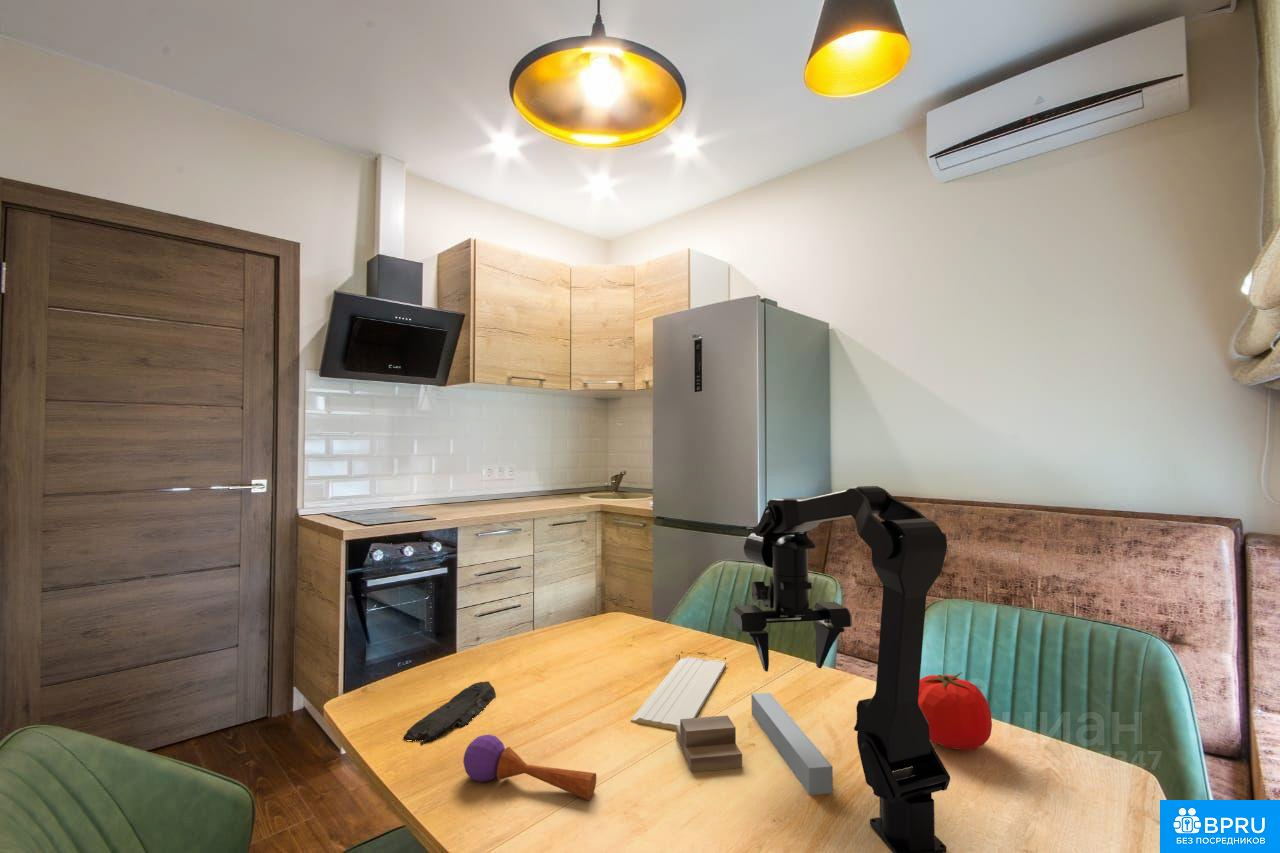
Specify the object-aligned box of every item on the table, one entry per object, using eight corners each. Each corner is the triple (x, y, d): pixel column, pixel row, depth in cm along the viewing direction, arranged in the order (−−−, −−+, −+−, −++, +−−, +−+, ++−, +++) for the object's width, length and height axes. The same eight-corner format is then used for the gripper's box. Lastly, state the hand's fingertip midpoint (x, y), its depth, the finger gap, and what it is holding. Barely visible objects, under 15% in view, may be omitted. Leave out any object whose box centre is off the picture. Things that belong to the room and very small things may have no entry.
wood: (436, 751, 90) (436, 732, 90) (399, 743, 92) (399, 724, 92) (511, 694, 111) (511, 679, 111) (479, 689, 113) (480, 674, 113)
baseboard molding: (623, 723, 99) (687, 736, 95) (623, 707, 100) (687, 719, 95) (674, 661, 128) (726, 668, 124) (674, 648, 128) (726, 655, 124)
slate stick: (832, 795, 78) (832, 766, 79) (809, 797, 78) (809, 768, 78) (769, 714, 102) (769, 692, 102) (751, 716, 102) (751, 693, 102)
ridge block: (742, 767, 85) (742, 737, 85) (691, 772, 83) (691, 741, 84) (722, 734, 95) (722, 707, 95) (676, 737, 93) (676, 710, 93)
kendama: (584, 784, 74) (454, 749, 80) (583, 823, 75) (455, 785, 81) (600, 752, 80) (478, 722, 85) (599, 789, 81) (479, 756, 86)
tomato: (994, 740, 93) (992, 672, 93) (991, 773, 83) (989, 697, 84) (915, 720, 100) (914, 656, 100) (904, 748, 90) (903, 678, 90)
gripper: (821, 562, 102) (823, 649, 101) (722, 566, 100) (723, 655, 99) (852, 575, 91) (855, 672, 90) (742, 579, 89) (743, 679, 88)
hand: (792, 669), depth 92 cm, fingers open, 9 cm apart
